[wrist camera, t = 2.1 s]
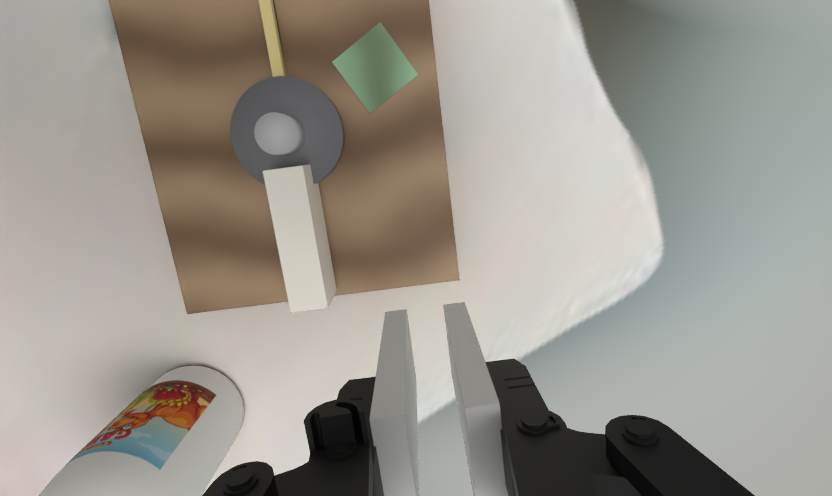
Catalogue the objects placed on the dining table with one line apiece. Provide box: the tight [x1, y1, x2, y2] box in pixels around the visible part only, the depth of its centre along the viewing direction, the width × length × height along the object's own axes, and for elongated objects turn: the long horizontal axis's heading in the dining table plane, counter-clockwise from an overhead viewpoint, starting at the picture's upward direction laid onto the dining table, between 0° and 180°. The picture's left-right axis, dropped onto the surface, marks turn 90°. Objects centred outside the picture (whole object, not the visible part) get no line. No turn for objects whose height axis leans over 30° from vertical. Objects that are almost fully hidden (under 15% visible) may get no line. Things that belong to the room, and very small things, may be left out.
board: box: [109, 0, 459, 314], centre depth 32 cm, size 22×20×2 cm
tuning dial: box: [230, 0, 345, 313], centre depth 29 cm, size 20×7×4 cm, turn 7°
